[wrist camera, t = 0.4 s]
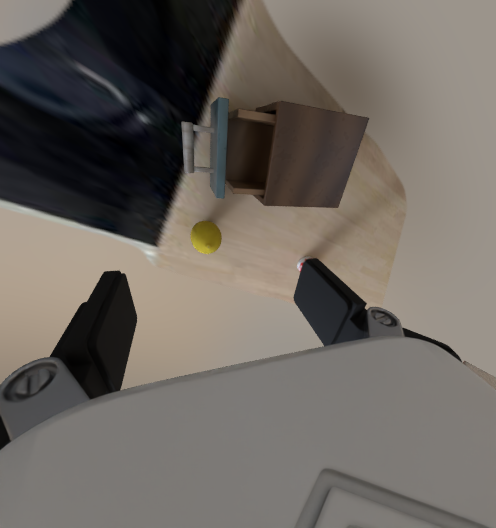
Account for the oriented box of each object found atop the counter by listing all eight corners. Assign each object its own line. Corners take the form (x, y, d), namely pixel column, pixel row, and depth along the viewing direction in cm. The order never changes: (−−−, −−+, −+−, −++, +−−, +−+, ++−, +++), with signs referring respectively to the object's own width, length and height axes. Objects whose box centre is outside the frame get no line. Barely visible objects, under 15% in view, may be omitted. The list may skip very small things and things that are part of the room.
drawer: (185, 184, 34) (185, 197, 28) (180, 99, 28) (179, 90, 22) (275, 189, 39) (293, 201, 32) (287, 117, 33) (313, 114, 26)
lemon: (196, 210, 38) (199, 226, 31) (222, 222, 40) (230, 239, 34) (185, 234, 40) (186, 255, 33) (210, 244, 42) (216, 265, 36)
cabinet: (247, 190, 38) (264, 205, 30) (256, 108, 32) (280, 100, 24) (309, 193, 42) (338, 208, 34) (328, 120, 35) (369, 117, 28)
